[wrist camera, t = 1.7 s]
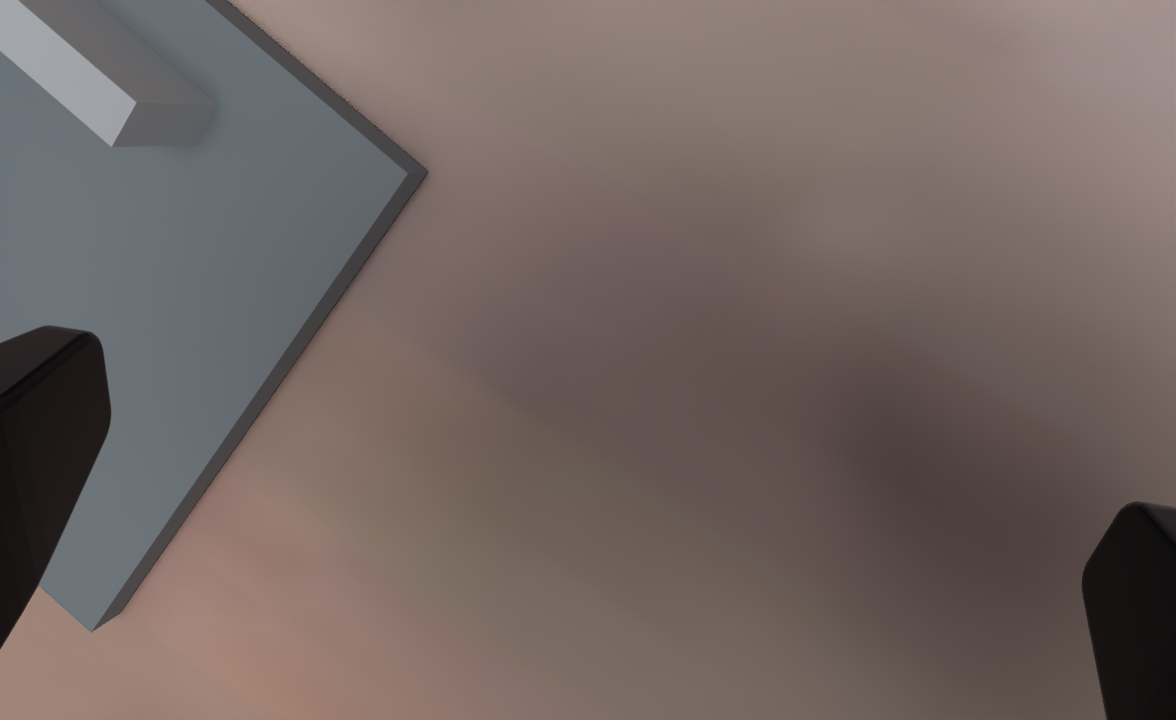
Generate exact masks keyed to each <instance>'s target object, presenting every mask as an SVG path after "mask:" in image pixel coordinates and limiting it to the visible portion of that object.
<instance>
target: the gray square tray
mask: <svg viewBox="0 0 1176 720" xmlns="http://www.w3.org/2000/svg"><path fill="white" fill-rule="evenodd" d="M427 172H428V171H427V170H426V169H425V168H423V167H422V166H421V165H420V164H419V163H417V162H416V161H415V160H414V159H413V158H412V157H410V156H409V155H408V154H407V153H406V152H405V151H403V150H402V149H401V148H400V147H399V146H397V145H396V144H395V143H394V142H393V141H392V140H390V139H389V138H388V137H387V136H386V135H385V134H383V133H382V132H381V131H380V130H379V129H377V128H376V127H375V126H374V125H373V124H372V123H370V122H369V121H368V120H367V119H366V118H365V117H363V116H362V115H361V114H360V113H359V112H358V111H356V110H355V109H354V108H353V107H352V106H350V105H349V104H348V103H347V102H346V101H345V100H343V99H342V98H341V97H340V96H339V95H338V94H336V93H335V92H334V91H333V90H332V89H330V88H329V87H328V86H327V85H326V84H325V83H323V82H322V81H321V80H320V79H319V78H318V77H316V76H315V75H314V74H313V73H312V72H310V71H309V70H308V69H307V68H306V67H305V66H303V65H302V64H301V63H300V62H299V61H298V60H296V59H295V58H294V57H293V56H292V55H290V54H289V53H288V52H287V51H286V50H285V49H283V48H282V47H281V46H280V45H279V44H278V43H276V42H275V41H274V40H273V39H272V38H270V37H269V36H268V35H267V34H266V33H265V32H263V31H262V30H261V29H260V28H259V27H258V26H256V25H255V24H254V23H253V22H252V21H250V20H249V19H248V18H247V17H246V16H245V15H243V14H242V13H241V12H240V11H239V10H238V9H236V8H235V7H234V6H233V5H232V4H230V3H229V2H228V1H227V0H0V343H1V342H3V341H6V340H8V339H11V338H13V337H16V336H18V335H21V334H23V333H26V332H28V331H31V330H33V329H36V328H38V327H41V326H46V325H53V326H60V327H66V328H73V329H79V330H85V331H90V332H92V333H94V334H95V335H96V336H97V337H98V338H99V339H100V341H101V343H102V347H103V351H104V358H105V366H106V373H107V380H108V387H109V394H110V402H111V423H110V428H109V431H108V435H107V437H106V440H105V442H104V444H103V446H102V448H101V451H100V453H99V455H98V457H97V459H96V462H95V464H94V466H93V468H92V470H91V473H90V475H89V477H88V479H87V481H86V483H85V486H84V488H83V490H82V492H81V494H80V497H79V499H78V501H77V503H76V505H75V508H74V510H73V512H72V514H71V516H70V519H69V521H68V523H67V525H66V527H65V530H64V532H63V534H62V536H61V538H60V541H59V543H58V545H57V547H56V549H55V552H54V554H53V556H52V558H51V560H50V562H49V564H48V566H47V569H46V571H45V573H44V575H43V577H42V579H41V581H40V583H39V586H40V587H41V588H42V589H43V590H44V591H45V592H47V593H48V594H49V595H50V596H51V597H52V598H53V599H54V600H55V601H57V602H58V603H59V604H60V605H61V606H62V607H63V608H64V609H65V610H67V611H68V612H69V613H70V614H71V615H72V616H73V617H74V618H75V619H77V620H78V621H79V622H80V623H81V624H82V625H83V626H84V627H86V628H87V629H88V630H89V631H90V632H93V631H94V630H96V629H97V628H99V627H100V626H102V625H103V624H105V623H106V622H108V621H109V620H111V619H112V618H114V617H115V616H117V615H118V614H120V612H121V611H122V609H123V608H124V606H125V605H126V604H127V602H128V601H129V599H130V598H131V596H132V595H133V594H134V592H135V591H136V589H137V588H138V586H139V585H140V583H141V582H142V581H143V579H144V578H145V576H146V575H147V573H148V572H149V571H150V569H151V568H152V566H153V565H154V563H155V562H156V561H157V559H158V558H159V556H160V555H161V553H162V552H163V551H164V549H165V548H166V546H167V545H168V543H169V542H170V541H171V539H172V538H173V536H174V535H175V533H176V532H177V530H178V529H179V528H180V526H181V525H182V523H183V522H184V520H185V519H186V518H187V516H188V515H189V513H190V512H191V510H192V509H193V508H194V506H195V505H196V503H197V502H198V500H199V499H200V498H201V496H202V495H203V493H204V492H205V490H206V489H207V487H208V486H209V485H210V483H211V482H212V480H213V479H214V477H215V476H216V475H217V473H218V472H219V470H220V469H221V467H222V466H223V465H224V463H225V462H226V460H227V459H228V457H229V456H230V455H231V453H232V452H233V450H234V449H235V447H236V446H237V445H238V443H239V442H240V440H241V439H242V437H243V436H244V434H245V433H246V432H247V430H248V429H249V427H250V426H251V424H252V423H253V422H254V420H255V419H256V417H257V416H258V414H259V413H260V412H261V410H262V409H263V407H264V406H265V404H266V403H267V402H268V400H269V399H270V397H271V396H272V394H273V393H274V392H275V390H276V389H277V387H278V386H279V384H280V383H281V381H282V380H283V379H284V377H285V376H286V374H287V373H288V371H289V370H290V369H291V367H292V366H293V364H294V363H295V361H296V360H297V359H298V357H299V356H300V354H301V353H302V351H303V350H304V349H305V347H306V346H307V344H308V343H309V341H310V340H311V338H312V337H313V336H314V334H315V333H316V331H317V330H318V328H319V327H320V326H321V324H322V323H323V321H324V320H325V318H326V317H327V316H328V314H329V313H330V311H331V310H332V308H333V307H334V306H335V304H336V303H337V301H338V300H339V298H340V297H341V296H342V294H343V293H344V291H345V290H346V288H347V287H348V285H349V284H350V283H351V281H352V280H353V278H354V277H355V275H356V274H357V273H358V271H359V270H360V268H361V267H362V265H363V264H364V263H365V261H366V260H367V258H368V257H369V255H370V254H371V253H372V251H373V250H374V248H375V247H376V245H377V244H378V242H379V241H380V240H381V238H382V237H383V235H384V234H385V232H386V231H387V230H388V228H389V227H390V225H391V224H392V222H393V221H394V220H395V218H396V217H397V215H398V214H399V212H400V211H401V210H402V208H403V207H404V205H405V204H406V202H407V201H408V200H409V198H410V197H411V195H412V194H413V192H414V191H415V189H416V188H417V187H418V185H419V184H420V182H421V181H422V179H423V178H424V177H425V175H426V174H427Z"/></svg>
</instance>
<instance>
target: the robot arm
mask: <svg viewBox="0 0 1176 720" xmlns="http://www.w3.org/2000/svg"><path fill="white" fill-rule="evenodd" d="M110 423H111V402H110V394H109V387H108V380H107V373H106V366H105V358H104V351H103V347H102V343H101V341H100V339H99V338H98V337H97V336H96V335H95V334H94V333H92V332H90V331H85V330H79V329H73V328H66V327H60V326H53V325H46V326H41V327H38V328H36V329H33V330H31V331H28V332H26V333H23V334H21V335H18V336H16V337H13V338H11V339H8V340H6V341H3V342H1V343H0V649H1V647H2V646H3V644H4V642H5V641H6V639H7V637H8V636H9V634H10V633H11V631H12V629H13V628H14V626H15V624H16V623H17V621H18V619H19V618H20V616H21V614H22V613H23V611H24V609H25V608H26V606H27V604H28V602H29V601H30V599H31V597H32V595H33V594H34V592H35V590H36V588H37V587H38V585H39V583H40V581H41V579H42V577H43V575H44V573H45V571H46V569H47V566H48V564H49V562H50V560H51V558H52V556H53V554H54V552H55V549H56V547H57V545H58V543H59V541H60V538H61V536H62V534H63V532H64V530H65V527H66V525H67V523H68V521H69V519H70V516H71V514H72V512H73V510H74V508H75V505H76V503H77V501H78V499H79V497H80V494H81V492H82V490H83V488H84V486H85V483H86V481H87V479H88V477H89V475H90V473H91V470H92V468H93V466H94V464H95V462H96V459H97V457H98V455H99V453H100V451H101V448H102V446H103V444H104V442H105V440H106V437H107V435H108V431H109V428H110ZM1082 594H1083V600H1084V605H1085V610H1086V615H1087V620H1088V626H1089V631H1090V636H1091V641H1092V646H1093V651H1094V657H1095V662H1096V667H1097V672H1098V677H1099V683H1100V688H1101V693H1102V698H1103V703H1104V708H1105V714H1106V719H1107V720H1176V508H1174V507H1169V506H1163V505H1157V504H1151V503H1144V502H1132V503H1129V504H1127V505H1126V506H1124V507H1123V508H1122V509H1121V510H1120V511H1119V512H1118V514H1117V515H1116V517H1115V518H1114V520H1113V522H1112V523H1111V525H1110V526H1109V528H1108V530H1107V531H1106V533H1105V534H1104V536H1103V538H1102V539H1101V541H1100V542H1099V544H1098V546H1097V547H1096V549H1095V550H1094V552H1093V553H1092V555H1091V557H1090V558H1089V560H1088V561H1087V564H1086V566H1085V569H1084V572H1083V576H1082Z"/></svg>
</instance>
